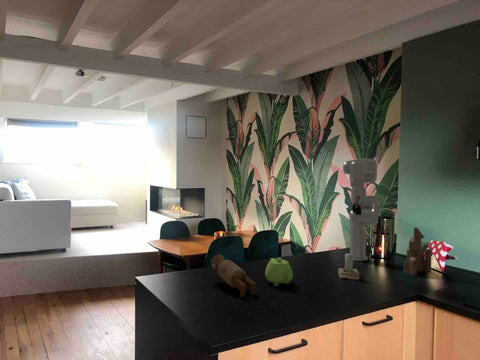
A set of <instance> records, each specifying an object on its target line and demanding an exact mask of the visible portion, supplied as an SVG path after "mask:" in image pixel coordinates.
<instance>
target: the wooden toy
mask: <svg viewBox="0 0 480 360" xmlns="http://www.w3.org/2000/svg"><path fill="white" fill-rule="evenodd" d="M424 238H425V236H424V234H423V233H422V232H421V231H420V229H419V228H418V227H413V237H411V238H410V239H409V241H408V249H406V260H404V261H403V264H402V265H403V267H402V269H403V270H402V272H403V273H404V274H407V275H409V276H410V275H411V276H417V275H418V272H424V273H429V274H430V273H432V249H430V248H425V250H424V254H423V253H422V239H424Z"/></svg>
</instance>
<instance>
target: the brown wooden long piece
mask: <svg viewBox="0 0 480 360" xmlns="http://www.w3.org/2000/svg"><path fill="white" fill-rule="evenodd" d="M210 261H211V262H210V265H211V266H210V267H211V268H212V269H214V270H217V272H216V273H217V275H218V276H219V277H220V278H221V279H222V280H223V285H224V286H229V287H230V288H233V289H238V290H239V296H240V298H244V297H246V292H247V287H249V288H250V290H249V292H250V293H249V295H250V296H254V295H256V290H257V283H256V282H255V281H253V280H252V279H251V278H250V277H249V276H248V275H247V273H246V272H245V270H244V269H243V268H241V267H240V266H239V265H237V264H236V263H234V261H233V260H230V259H225V257H224V255H222V254H217V255H215V256H213V257H212V259H211V260H210Z"/></svg>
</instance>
